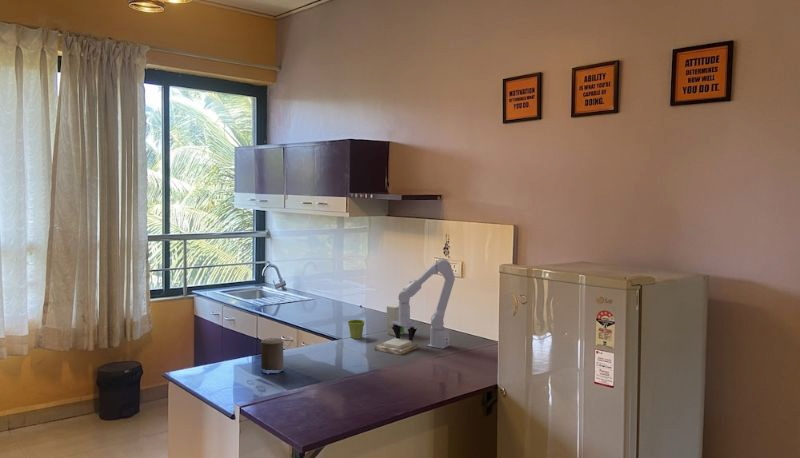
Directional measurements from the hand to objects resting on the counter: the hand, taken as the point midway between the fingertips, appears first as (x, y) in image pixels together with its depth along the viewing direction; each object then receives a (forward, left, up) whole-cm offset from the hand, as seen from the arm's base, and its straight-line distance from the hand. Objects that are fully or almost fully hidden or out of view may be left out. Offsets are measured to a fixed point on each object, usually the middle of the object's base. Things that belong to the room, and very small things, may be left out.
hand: (404, 340), depth 300 cm
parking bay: (0, +6, -2) cm, 7 cm away
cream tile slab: (0, +7, -2) cm, 7 cm away
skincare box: (+18, -17, -3) cm, 25 cm away
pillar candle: (+25, +66, -3) cm, 71 cm away
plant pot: (+31, +1, -3) cm, 31 cm away
